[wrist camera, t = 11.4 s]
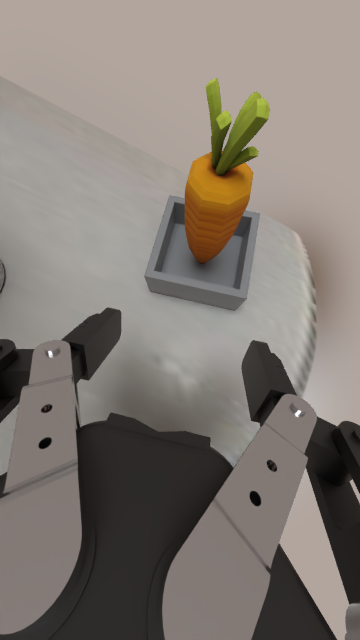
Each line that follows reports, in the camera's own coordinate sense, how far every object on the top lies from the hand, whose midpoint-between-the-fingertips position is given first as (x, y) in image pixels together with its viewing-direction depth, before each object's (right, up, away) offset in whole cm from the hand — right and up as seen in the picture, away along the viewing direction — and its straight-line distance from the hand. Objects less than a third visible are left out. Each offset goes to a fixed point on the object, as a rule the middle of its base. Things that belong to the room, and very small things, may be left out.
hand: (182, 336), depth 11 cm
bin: (+3, +8, +13) cm, 15 cm away
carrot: (+3, +8, +12) cm, 15 cm away
